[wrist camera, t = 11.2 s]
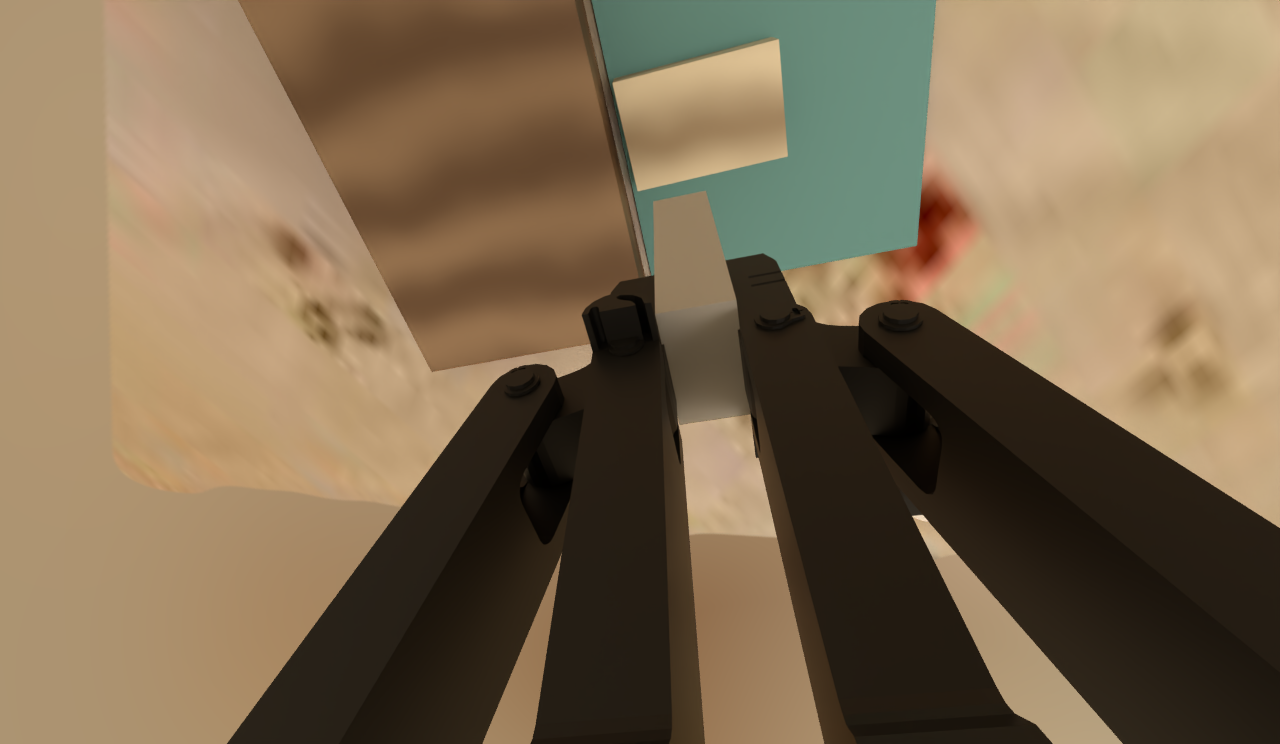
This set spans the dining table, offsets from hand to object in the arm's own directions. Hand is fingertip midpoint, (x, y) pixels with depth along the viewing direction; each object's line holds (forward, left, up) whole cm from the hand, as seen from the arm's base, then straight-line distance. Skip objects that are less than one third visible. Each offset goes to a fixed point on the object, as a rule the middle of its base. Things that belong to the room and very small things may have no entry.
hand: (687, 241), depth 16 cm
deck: (0, -11, -21) cm, 23 cm away
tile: (0, +2, -20) cm, 20 cm away
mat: (0, +6, -21) cm, 21 cm away
